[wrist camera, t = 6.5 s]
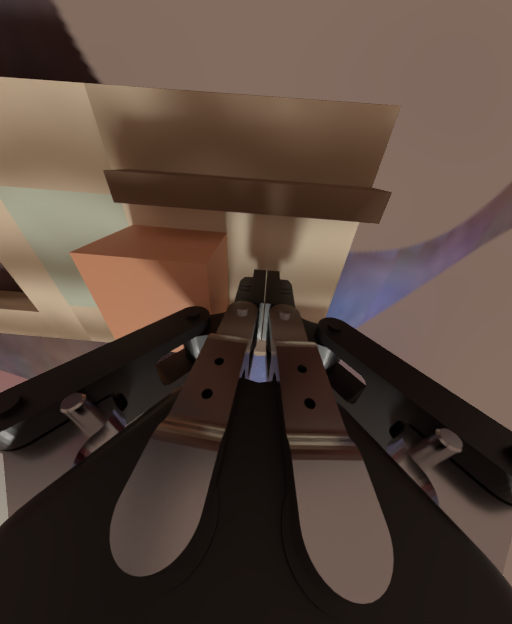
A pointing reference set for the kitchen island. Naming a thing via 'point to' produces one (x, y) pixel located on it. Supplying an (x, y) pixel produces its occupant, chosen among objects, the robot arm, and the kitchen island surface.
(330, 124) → the wooden fixture board
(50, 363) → the kitchen island surface
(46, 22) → the kitchen island surface
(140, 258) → the block
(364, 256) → the kitchen island surface
